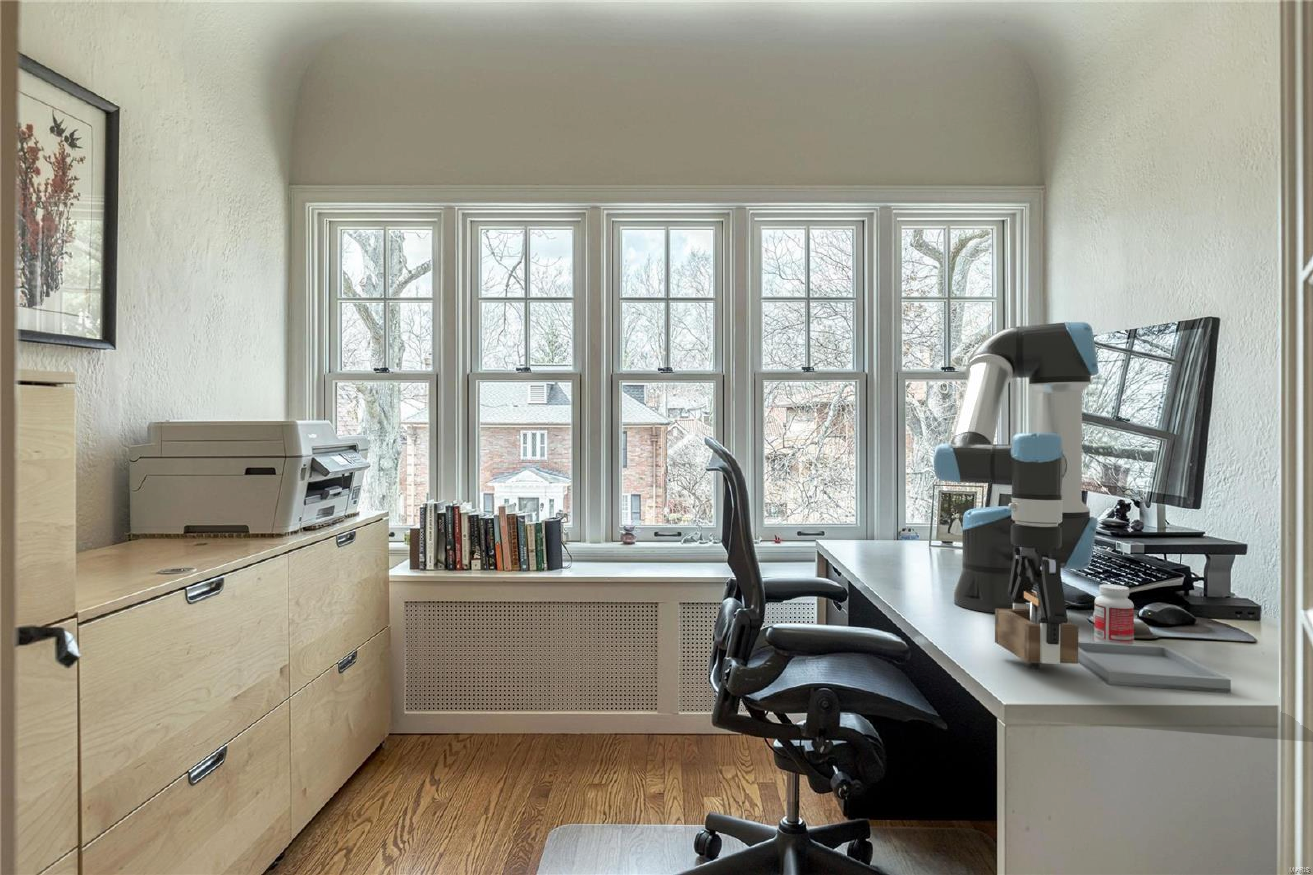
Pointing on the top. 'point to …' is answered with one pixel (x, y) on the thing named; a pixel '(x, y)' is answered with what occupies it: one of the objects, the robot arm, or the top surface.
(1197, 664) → the tray
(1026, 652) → the brown wooden open box
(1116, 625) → the pill bottle
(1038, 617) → the t-shaped peg
